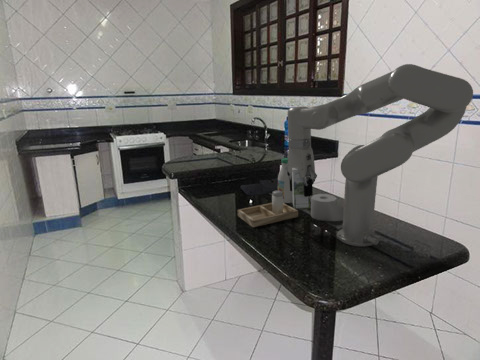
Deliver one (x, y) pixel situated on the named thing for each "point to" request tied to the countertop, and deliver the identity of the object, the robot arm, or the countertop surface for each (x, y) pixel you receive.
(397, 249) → the countertop surface
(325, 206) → the toilet tissue
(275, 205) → the shaker
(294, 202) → the syrup box
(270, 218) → the caddy
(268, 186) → the dark slate chunk
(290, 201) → the milk bottle
